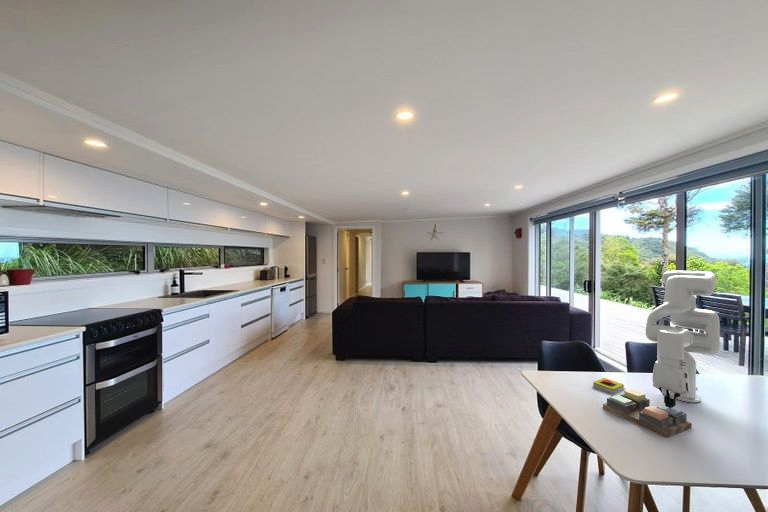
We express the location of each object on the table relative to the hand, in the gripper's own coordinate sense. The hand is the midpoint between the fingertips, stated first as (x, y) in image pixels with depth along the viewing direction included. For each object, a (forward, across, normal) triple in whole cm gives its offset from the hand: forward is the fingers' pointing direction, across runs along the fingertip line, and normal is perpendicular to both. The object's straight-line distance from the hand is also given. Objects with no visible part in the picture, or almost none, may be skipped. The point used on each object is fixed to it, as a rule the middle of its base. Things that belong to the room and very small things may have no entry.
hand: (669, 406), depth 118 cm
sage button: (+4, +12, +10) cm, 16 cm away
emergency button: (+8, +29, -10) cm, 31 cm away
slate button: (+4, 0, +1) cm, 4 cm away
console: (+6, +6, +5) cm, 10 cm away
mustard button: (+3, +12, +1) cm, 12 cm away
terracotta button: (+3, 0, +10) cm, 10 cm away
